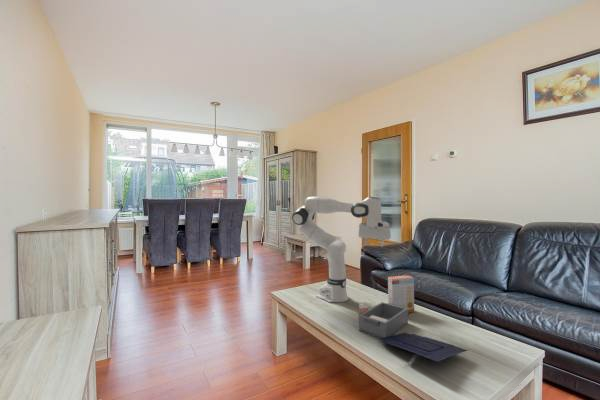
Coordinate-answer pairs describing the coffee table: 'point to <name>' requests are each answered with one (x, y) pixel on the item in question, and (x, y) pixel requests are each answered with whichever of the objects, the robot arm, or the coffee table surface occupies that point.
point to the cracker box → (401, 291)
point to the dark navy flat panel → (423, 346)
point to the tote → (381, 329)
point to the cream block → (378, 318)
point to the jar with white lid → (363, 307)
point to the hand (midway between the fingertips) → (374, 245)
